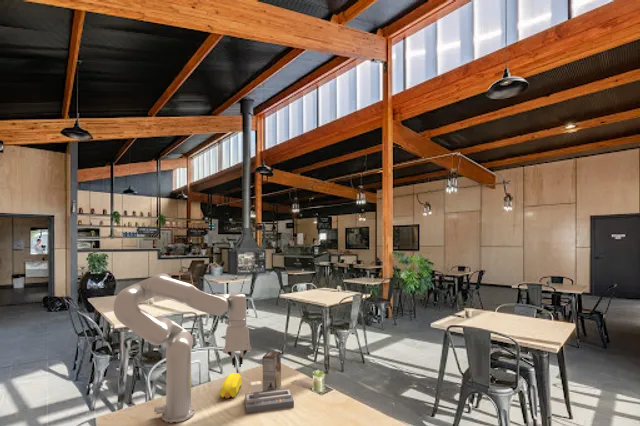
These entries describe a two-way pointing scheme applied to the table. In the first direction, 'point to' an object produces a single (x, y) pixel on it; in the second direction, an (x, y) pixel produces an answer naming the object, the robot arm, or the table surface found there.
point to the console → (269, 400)
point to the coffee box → (271, 370)
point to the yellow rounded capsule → (231, 385)
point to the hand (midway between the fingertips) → (237, 365)
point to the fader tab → (256, 388)
